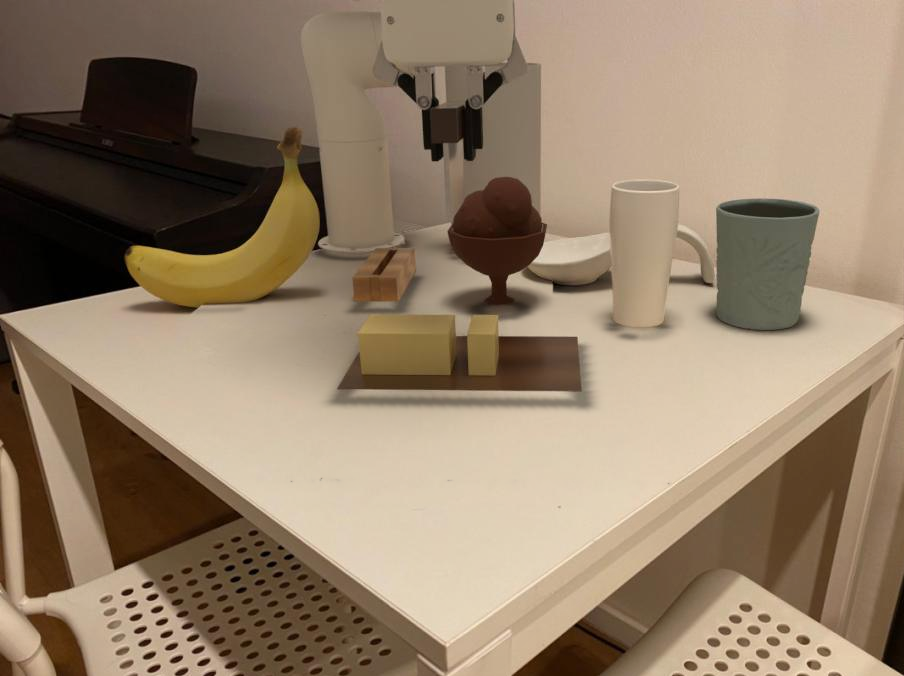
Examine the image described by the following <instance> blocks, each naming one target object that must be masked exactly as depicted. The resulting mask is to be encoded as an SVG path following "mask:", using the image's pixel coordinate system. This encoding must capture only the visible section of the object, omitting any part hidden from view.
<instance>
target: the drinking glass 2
mask: <svg viewBox="0 0 904 676" xmlns="http://www.w3.org/2000/svg"><path fill="white" fill-rule="evenodd" d="M610 188H611V190H610V199H609V219H608V221H609V227H608V229H609V232H610V252H611V267H610V269H611V271H610V272H611V291H612V293H611V295H612V320H613V322H615V323H616V324H619V325H622V326H625V327H630V328H652V327H657V326H660V325H662V324H663V323H664V322H665V316H666V315H665V313H666V306H667V305H666V304H667V298H668V292H669V286H670V285H669V284H670V279H671V271H672V267H673V260H674V253H675V247H676V242H677V241H676V240H677V237H676V235H677V228H678V224H679V217H680V196H681V195H680V192H681V190H680V189H681V186H680V185H679V184H677V183H675V182H673V181H667V180H660V179H628V180H621V181H616V182H614V183H613V184H612V185H611V187H610Z"/></svg>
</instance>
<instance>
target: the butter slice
mask: <svg viewBox="0 0 904 676" xmlns="http://www.w3.org/2000/svg"><path fill="white" fill-rule="evenodd" d="M466 333H467V334H466V336H467V346H468V373H469V375H475V376H495V375H496V369H497V363H498V357H499V336H500V335H499V315H498V314H472V315H471V318H470V322H469V326H468V330H467V332H466Z"/></svg>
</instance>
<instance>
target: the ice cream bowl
mask: <svg viewBox="0 0 904 676" xmlns="http://www.w3.org/2000/svg"><path fill="white" fill-rule="evenodd" d="M450 225H451V224H450ZM547 228H548V224H547V223H545V222H543V221H542V216H541V213H540V214H539V212H538V211H537V210H536V209H535V208H534V207H533V206H532V199H531V194H530V192H529V190H528V188H527V187H526V186H525V185H524V184H523V183H522V182H521V181H520V180H519V179H516V178H512V177H499V178H494V179H492V180H491V181H490V182H489V183H488V185H487V186H486V187H485V189H484V190H479V191H475V192H473V193H471V194H469V195H467V196H466V198H465V199H464V202H463V204H462V205H461V207H460V208H459V210H458V212H457V213H456V215H455V216H454V221H453V224H452V225H451V226H449V228H448V229H447V231H446V233H447V235H448V240H449V245H450V246H451V248H453V249H452V251H453V252H454V255H455V256H456V257H457V258H458V259H460V260H461V261H462V262H463V263H464V264H465V265H466V266H468V267H469V268H470V269H472V270H474V271H476V272H478V273H480V274H482V275H484V276H488V278H489V281H490V282H491V294H490V295H489V296H487V297H486V298H485V299H484V301H483V302H484V303H485V304H488V305H491V306H506V305H509V304H513V303H514V302H515V298H513V297H511V296H510V295H508V288H507V282H508V278H509V277H510V276H512V275H514V274H517V273H520V272H522V271H523V270H525V269H526V268H527V267H528V266H529V265H530V264H531V263H532V262H533V261H534V260H535V259H536V258H537V257H538V256H539V253H540V251H541V249H542V247H543V244H544V242H545V239H546V233H547Z"/></svg>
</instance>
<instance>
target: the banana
mask: <svg viewBox="0 0 904 676" xmlns="http://www.w3.org/2000/svg"><path fill="white" fill-rule="evenodd" d="M283 135H284V136H283V139H282V141H280V142H279V143H278V144H277V147H276V149H277V150H279V151H281V154H282V156H283V160H284V170H283V175H282V181H281V185H280V187H279V188H278V191H277V192H276V194H275V196H274V198H273V200H272V203H271V204H270V207H269V208H268V210H267V212H266V215H265V218H264V219H263V221H262V222H261V224H260V226H259V227H258V229H257V230H256V231H255V233H254V234H253V235H252V236H251V237H250V238H249V239H248V240H246V242H244V243H243V244H242V245H240V246H238V247H237V248H235V249H232V250H229V251H226V252H223V253H217V254H206V255H203V254H202V255H201V254H188V253H181V252H177V251H173V250H168V249H164V248H163V249H162V248H157V247H151V246H145V245H131V246H129V247H128V248H127V249H126V251H125V253H124V262H125V265H126V268H127V270H128V272H129V274H130V275H131V277H132V278H133V280H134V281H135V282H136V283H137V284H138V285H139V286H140V287H141V288H142V289H144V290H145V291H146V292H148V293H149V294H151V295H152V296H154V297H156V298H158V299H160V300H163V301H165V302H168V303H171V304H175V305H178V306H181V307H189V308H198V309H199V308H200V307H202V306H203V305H204V304H229V303H230V304H231V303H232V304H233V303H247V302H248V303H249V302H253V301H256V300H259V299H261V298H263V297H265V296H267V295H269V294H270V293H273V292H274V291H275V290H277V289H278V288H279V287H280V286H282V285H283V284H284V283H285V282H286V281H288V280H289V279H290V278H291V277H292V276H293V275H294V274H295V273H296V272H298V270H299V269H300V268H301V267H302V266H303V264H304V263H305V262H306V261H307V259H308V258H309V256H310V255H311V253H312V252H313V250H314V247H315V245H316V242H317V240H318V236H319V233H320V225H321V223H320V222H321V221H320V219H321V218H320V211H319V207H318V203H317V202H316V200H315V197H314V195H313V194H312V191H311V190H310V189H309V188H308V186H307V185H306V183H305V182H304V179H303V178H302V176H301V173H300V170H299V166H298V157H299V154H300V152H301V150H302V149H303V147H302V137H303V136H302V135H303V130H302V129H301V127H298V126H293V127H287V128H286V129H285V131H284V134H283Z"/></svg>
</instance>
